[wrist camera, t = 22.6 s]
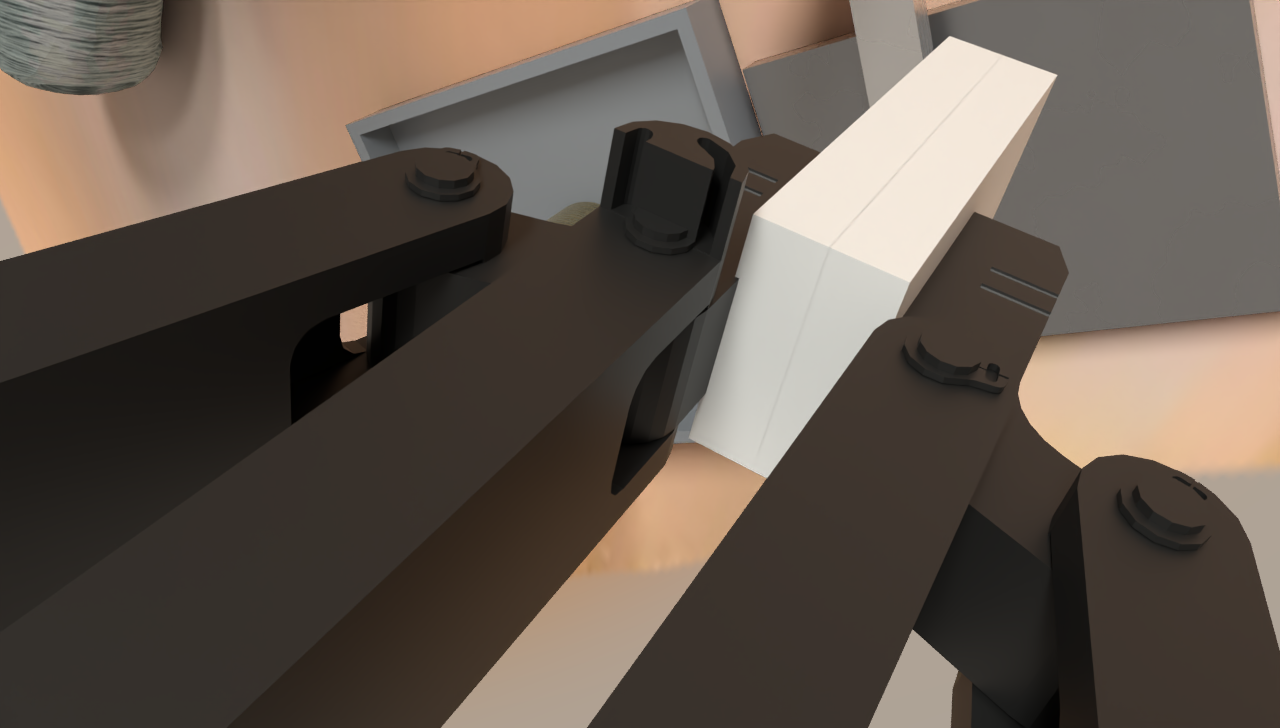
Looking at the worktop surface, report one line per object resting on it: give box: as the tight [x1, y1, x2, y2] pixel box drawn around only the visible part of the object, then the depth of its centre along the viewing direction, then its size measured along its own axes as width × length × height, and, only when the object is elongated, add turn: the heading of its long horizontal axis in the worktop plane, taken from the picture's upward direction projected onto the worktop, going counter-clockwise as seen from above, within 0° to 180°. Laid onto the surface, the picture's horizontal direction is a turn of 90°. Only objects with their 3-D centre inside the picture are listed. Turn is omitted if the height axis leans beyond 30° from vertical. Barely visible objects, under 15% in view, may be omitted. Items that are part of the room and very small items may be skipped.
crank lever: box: [849, 0, 934, 108], centre depth 31 cm, size 13×3×9 cm, turn 18°
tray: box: [346, 0, 762, 444], centre depth 47 cm, size 18×19×2 cm
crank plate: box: [743, 0, 1280, 336], centre depth 37 cm, size 12×16×1 cm
